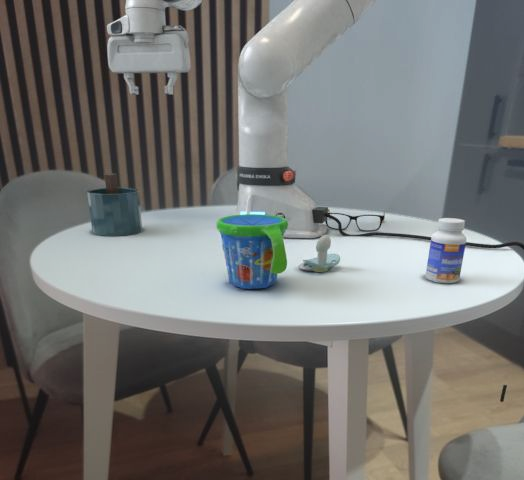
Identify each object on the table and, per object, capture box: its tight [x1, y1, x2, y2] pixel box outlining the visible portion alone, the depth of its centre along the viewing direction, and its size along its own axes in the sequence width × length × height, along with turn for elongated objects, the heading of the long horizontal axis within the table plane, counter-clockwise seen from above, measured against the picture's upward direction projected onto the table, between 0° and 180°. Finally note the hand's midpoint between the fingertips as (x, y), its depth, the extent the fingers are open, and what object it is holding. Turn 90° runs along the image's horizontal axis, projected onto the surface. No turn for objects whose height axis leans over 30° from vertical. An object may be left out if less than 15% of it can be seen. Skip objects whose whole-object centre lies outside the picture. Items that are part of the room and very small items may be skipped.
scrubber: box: [104, 173, 119, 194], centre depth 113 cm, size 4×4×12 cm
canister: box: [86, 187, 143, 237], centre depth 114 cm, size 11×11×9 cm
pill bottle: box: [425, 217, 467, 284], centre depth 81 cm, size 5×5×10 cm
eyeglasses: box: [324, 208, 386, 233], centre depth 123 cm, size 14×14×4 cm
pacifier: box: [298, 234, 341, 273], centre depth 86 cm, size 7×6×6 cm
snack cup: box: [216, 214, 288, 290], centre depth 77 cm, size 16×10×10 cm
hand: (151, 94), depth 119 cm, fingers open, 8 cm apart
